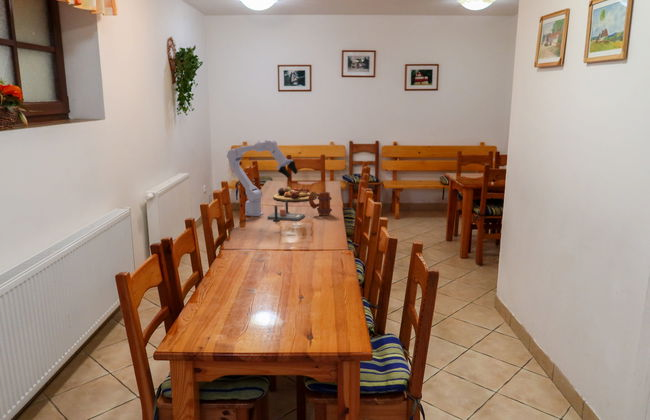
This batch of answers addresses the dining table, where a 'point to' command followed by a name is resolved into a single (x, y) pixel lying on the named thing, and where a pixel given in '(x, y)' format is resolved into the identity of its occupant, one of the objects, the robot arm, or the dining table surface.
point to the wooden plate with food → (292, 194)
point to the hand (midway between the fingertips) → (293, 175)
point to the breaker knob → (283, 212)
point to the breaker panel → (287, 216)
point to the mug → (321, 202)
